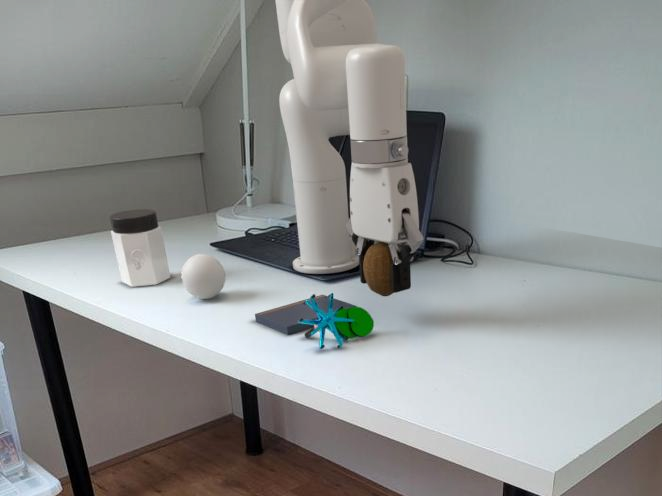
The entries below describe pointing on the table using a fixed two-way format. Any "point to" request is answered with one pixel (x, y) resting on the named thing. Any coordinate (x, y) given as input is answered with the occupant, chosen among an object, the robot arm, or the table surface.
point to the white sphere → (203, 276)
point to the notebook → (296, 314)
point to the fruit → (378, 268)
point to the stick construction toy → (339, 322)
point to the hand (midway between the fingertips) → (385, 284)
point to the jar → (139, 247)
